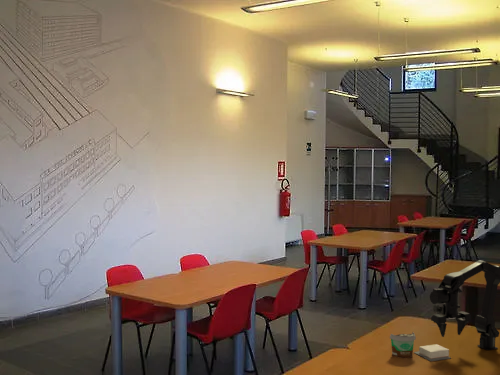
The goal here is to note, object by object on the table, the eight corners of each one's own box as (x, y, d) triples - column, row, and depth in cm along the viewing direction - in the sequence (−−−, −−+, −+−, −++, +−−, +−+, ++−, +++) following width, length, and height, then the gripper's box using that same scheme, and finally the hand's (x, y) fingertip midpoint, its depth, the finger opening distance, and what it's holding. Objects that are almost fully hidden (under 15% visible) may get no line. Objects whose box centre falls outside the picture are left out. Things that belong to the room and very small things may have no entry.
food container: (396, 360, 241) (396, 337, 241) (389, 355, 247) (389, 333, 247) (420, 357, 245) (421, 335, 244) (413, 353, 250) (413, 331, 250)
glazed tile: (437, 344, 253) (419, 346, 250) (448, 349, 246) (430, 352, 242) (436, 350, 253) (419, 353, 250) (448, 356, 246) (430, 358, 242)
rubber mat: (432, 350, 255) (432, 349, 255) (450, 358, 244) (450, 357, 244) (413, 352, 251) (413, 352, 251) (430, 361, 240) (430, 360, 240)
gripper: (455, 296, 261) (454, 328, 262) (423, 299, 255) (422, 332, 255) (472, 302, 251) (471, 335, 251) (439, 305, 244) (439, 339, 245)
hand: (450, 335), depth 251 cm, fingers open, 9 cm apart
